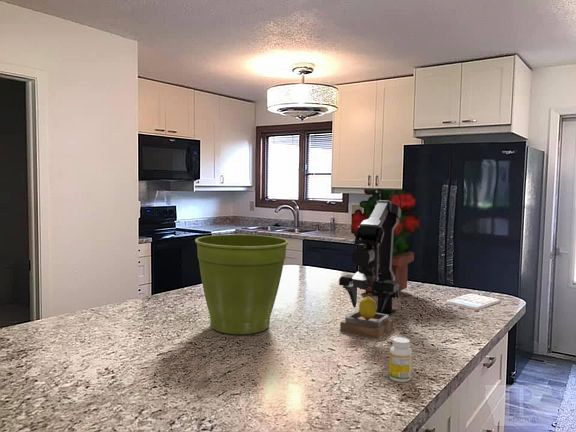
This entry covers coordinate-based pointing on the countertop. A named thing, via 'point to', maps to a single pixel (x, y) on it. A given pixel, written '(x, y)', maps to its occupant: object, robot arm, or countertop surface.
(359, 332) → the display plinth
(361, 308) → the lemon
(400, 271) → the potted plant
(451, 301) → the calculator
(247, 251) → the plant pot
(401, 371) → the supplement bottle
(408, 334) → the countertop surface
